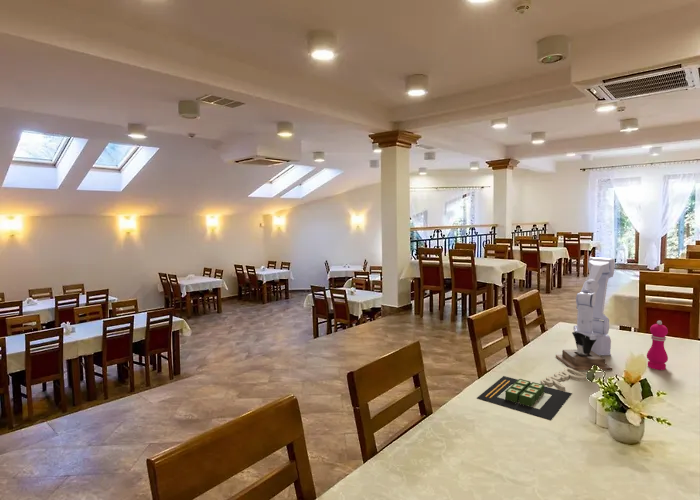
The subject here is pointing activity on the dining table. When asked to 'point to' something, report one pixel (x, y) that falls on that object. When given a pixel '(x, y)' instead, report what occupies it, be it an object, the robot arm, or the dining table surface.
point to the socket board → (582, 360)
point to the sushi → (525, 396)
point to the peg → (581, 351)
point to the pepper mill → (658, 347)
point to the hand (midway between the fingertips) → (583, 351)
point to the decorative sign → (563, 377)
